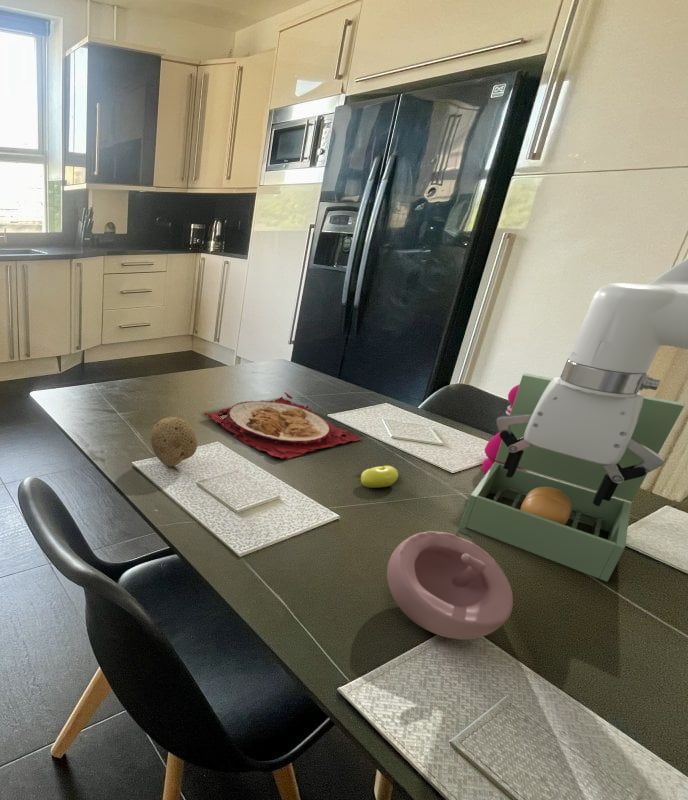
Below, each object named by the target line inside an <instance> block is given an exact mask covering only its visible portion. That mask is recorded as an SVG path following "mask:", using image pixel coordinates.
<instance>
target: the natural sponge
mask: <svg viewBox="0 0 688 800" xmlns="http://www.w3.org/2000/svg"><path fill="white" fill-rule="evenodd" d="M149 438H150V439H149V440H150V444H151V448H152V450H153V452H154V454H155V456H156V458H157V459H158V460H159V461H160V462H161V463H162V464H163V465H164V466H166V467H168V466H169V468H172V467H175V466H178V465H179V464H180V463H181V462H182V461H184V460H187V459H189V458H191V457H193V456H194V454H195V453H197V452H196V451H197V448H198V440H197V437H196V434H195V431H194V429H193V427H192V426H191V425H190V424H189V423H188V422H187V421H186V420H184V419H182V418H179V417H176V416H169V417H165V418H161V419H160V420H159V421H158V422H156V423H155V424H154V425H153V427H152V428H151V431H150V434H149Z"/></svg>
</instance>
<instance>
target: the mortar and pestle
mask: <svg viewBox="0 0 688 800" xmlns="http://www.w3.org/2000/svg"><path fill="white" fill-rule="evenodd" d="M386 570H387V571H386V577H387V584H388V588H389V592H390V593H391V596H392V598H393V600H394V601H395V603H396V605H397V606H398V607H399V609H400V610H401V611H402V612H403V613H404V615H405V616H406V617H407V618H408V619H410V620H411V621H412V622H413V623H414V624H416V625H417V626H419V627H421V628H422V629H424V630H425V631H428V632H430V633H432V634H434V635H437V636H440V637H444V638H448V639H452V640H453V639H455V640H475V639H480V638H483V637H485V636H488V635H490V634H492V633H494V632H496V631H497V630H499V628H501V627H502V626H503V625H504V624H505V623H507V621H508V619H510V616H511V614H512V611H513V607H514V595H513V590H512V587H511V584H510V582H509V579H508V578H507V575H506V574H505V572H504V571H503V569H502V567H501V566H500V564H498V562H497V561H496V560H495V559H494V557H493V556H491V555H490V554H489V553H488V552H487V551H485V550H484V549H483V548H481V547H480V546H479V545H477V544H475V543H474V542H472V541H470V540H468V539H466V538H463V537H461V536H457V535H456V534H453V533H450V532H445V531H435V530H428V531H423V532H422V531H421V532H418V533H416V534H413V535H411V536H409V537H408V538H407V537H406V538H405V540H403V541H402V542H400V543H399V544H398V545H397V546H396V548H395V549H394V550H393V552H392V554H391V556H390V558H389V560H388V563H387V568H386Z"/></svg>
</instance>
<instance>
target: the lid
mask: <svg viewBox="0 0 688 800" xmlns="http://www.w3.org/2000/svg"><path fill="white" fill-rule="evenodd" d="M553 378H554V377H548V376H542V375H537V374H532V373H526V372H524V373H523V374H522V376H521V379H520V382H519V384H520V385H519V384H518V385H519V388H518V391H517V394H516V397H515V400H514V404H513V407H512V410H511V413H510V415H517V414H527V413H533V412H534V410H535V408H536V406H537V404H538V402H539V400H540V398H541V396H542V394H543V392H544V391H545V389H546V388H547V386H548V384H549V383H550V382H551V380H552V379H553ZM643 396H644V397H643V404H642V409H641V412H640V415H639V418H638V421H637V424H636V427H635V429H634V432H633V434H632V437H633V438H634V439H636V440H637V441H639V442H640V443H642V444H643V445H645V446H646V447H648V448H649V449H651V450H652V451H654V452H655V453H657V454H658V455H659V454H660V452H661V450H662V448H663V446H664V444H665V442H666V441H667V439H668V437H669V435H670V433H671V431H672V429H673V428H674V426H675V424H676V422H677V420H678V419H679V416H680V415H681V413H682V411H683V410H684V407H685V406H686V404H685V402H680V401H675V400H669V399H663V398H660V397H659V398H658V397H653V396H647V395H643ZM527 425H528V423H525V424H514V425H510V429H511V431H512V433H513V434H514V435H515V437H516V438H517V439H519V438H521V437H523V436H524V433H525V430H526V427H527ZM522 451H524V452H523V455H522V457H521V460H520V462H519V464H518V467H520V468H523V469H524V470H526V471H529V472H532V473H536V474H539V475H543V476H546V477H549V478H553V479H556V480H559V481H563V482H566V483H570V484H573V485H576V486H580V487H583V488H586V489H590V490H593V491H597V490H598V488H599V486H600V484H601V482H602V480H603V478H604V476H605V474H606V475H607V472H606V471H605V469H604V467H603V466H602V465H600V464H595V463H592V462H588V461H584V460H581V459H577V458H573V457H570V456H566V455H562V454H559V453H555V452H552V451H548V450H545V449H541V448H538V447H535V446H530V447H528V448H525V449H523V450H522ZM509 452H510V451H509V450H508V447H507V446H506V444H505V443H504V442H503V440H502V441H501V444H500V447H499V450H498V453H497V457H496V461H500V462H503V463H505V462H506V459H507V457H508V454H509ZM642 461H643V459H642V458H640V457H639V456H637V455H636V454H634V453H633V452H631V451H630V450H629V449H627V448H626V451H625V453H624V454H623V456H622V458H621V459H620V461H619V463H620V465H621V466H622V468H625V467H629V466H633V465H637V464H639V463H640V462H642ZM647 475H649V472H648V473H647V474H645V475H644V476H642V477H638V478H634V479H630V480H626V481H623V482H622V483H619V484H618V486H617V487H616V489H615V491H614V493H613V495H612V496H613V497H617V498H620V499H624V500H627V501H630V502H632V501H634V499H635V497H636V495H637V494H638V492H639V490H640V488H641V486H642V484H643V483H644V481H645V479H646V477H647Z"/></svg>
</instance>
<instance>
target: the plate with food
mask: <svg viewBox="0 0 688 800" xmlns="http://www.w3.org/2000/svg"><path fill="white" fill-rule="evenodd" d="M284 394H285V396H286V398H284V397H283V396H281V397H279V398H277V399H274V400H262V399H261V400H250V401H247V400H246V401H240V402H238V403H236V404H233V405H232V406H231V407H228V408H223V409H221V410H219V411H215V412H211V413H209V412H204V416H207V417H208V418H209V419H212V421H214V422H215V423H219V424H220V425H221V426H222V428H224V429H226V431H229V432H230V433H232V435H233V437H234V438H236V439H237V440H238V441H240V442H242V443H243V444H245V445H247V446H248V447H253V448H254V449H257V450H258V451H261V452H262V451H263V452H265V453H267V454H268V455H270V456H272V457H276V458H280V459H282V460H283V459H286V460H288V459H291V458H294V457H300V456H304V454H306V453H307V452H314V451H317V450H319V449H325V448H331V447H332V448H333V447H335V446H337V445H338V446H339V444H340V445H344V444H346V443H350V442H357V441H360V440H363V437H360V436H358V435H356V434H354V433H351V432H350V431H349V430H343V429H341V428H338V427H337V426H336V425H333V424H331V423H330V422H328V421H327V420H325V419H324V418H323V417H322V416H321V415H318V414H316V412H312V409H311V408H309V406H308V405H306V406H305V405H301V404H297V403H292V402H291V400H292V399H293V398H294V397H293V396H291V395H290V394H288V392H286V391H285V392H284ZM287 398H288V399H290V400H288V399H287ZM222 415H227V417H226V418H224V419H222V418H221V417H220V416H222ZM220 418H221V419H220ZM343 435H345V436H343Z"/></svg>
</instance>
